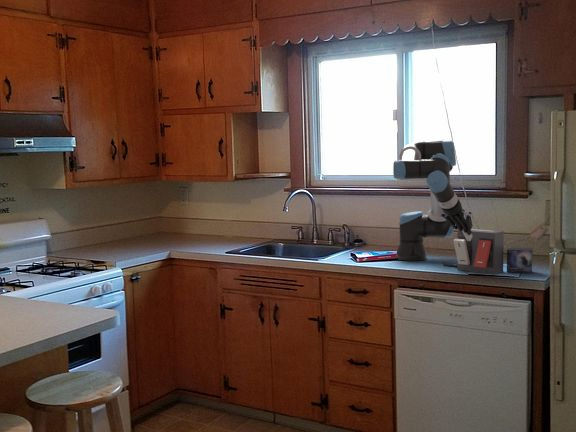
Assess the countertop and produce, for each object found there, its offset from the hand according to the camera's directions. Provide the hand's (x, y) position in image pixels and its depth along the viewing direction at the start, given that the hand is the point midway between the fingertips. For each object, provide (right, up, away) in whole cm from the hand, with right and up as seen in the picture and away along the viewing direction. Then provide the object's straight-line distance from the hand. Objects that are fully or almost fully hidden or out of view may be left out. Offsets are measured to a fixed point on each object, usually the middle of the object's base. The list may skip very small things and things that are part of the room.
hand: (469, 238), depth 272 cm
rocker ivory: (+2, -12, +18) cm, 22 cm away
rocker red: (+6, -13, +8) cm, 16 cm away
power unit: (+6, -15, +22) cm, 27 cm away
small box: (+25, -16, +13) cm, 33 cm away
